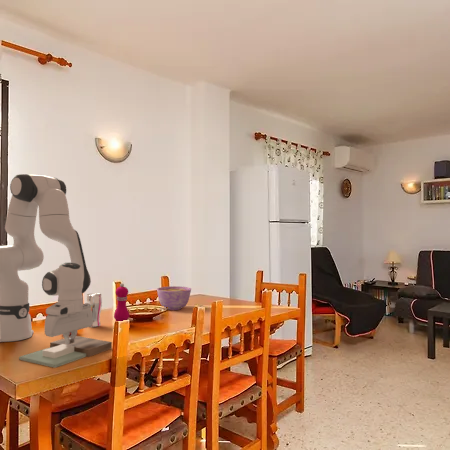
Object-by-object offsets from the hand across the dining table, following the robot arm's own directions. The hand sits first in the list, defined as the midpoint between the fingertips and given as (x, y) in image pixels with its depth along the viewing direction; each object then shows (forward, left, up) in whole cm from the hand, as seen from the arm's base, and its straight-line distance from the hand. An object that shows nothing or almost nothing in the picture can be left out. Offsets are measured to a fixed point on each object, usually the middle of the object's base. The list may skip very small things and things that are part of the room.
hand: (70, 343), depth 156 cm
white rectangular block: (0, -5, -2) cm, 6 cm away
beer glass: (-23, +36, -4) cm, 42 cm away
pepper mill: (-13, +44, -4) cm, 46 cm away
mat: (0, -7, -3) cm, 8 cm away
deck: (0, +6, -3) cm, 6 cm away
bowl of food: (-14, +90, -4) cm, 91 cm away
